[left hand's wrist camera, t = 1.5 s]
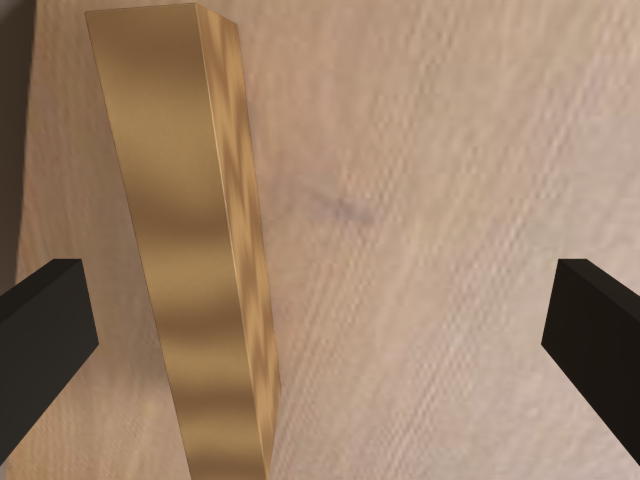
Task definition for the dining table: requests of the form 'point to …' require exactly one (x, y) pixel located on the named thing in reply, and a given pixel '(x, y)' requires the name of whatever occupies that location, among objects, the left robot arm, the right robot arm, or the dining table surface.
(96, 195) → the dining table surface
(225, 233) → the bar
